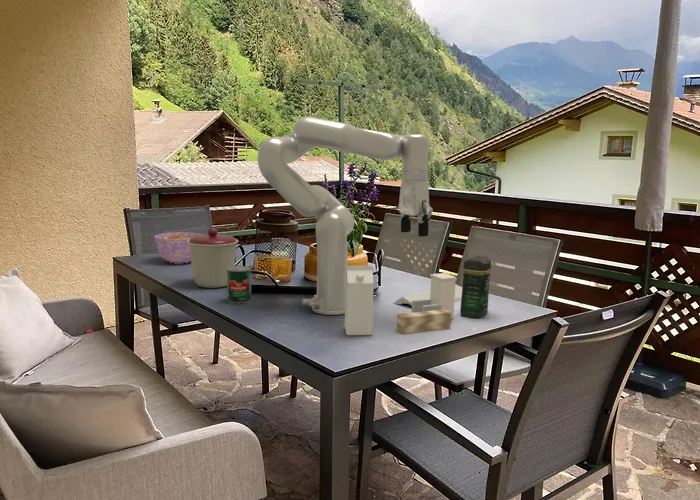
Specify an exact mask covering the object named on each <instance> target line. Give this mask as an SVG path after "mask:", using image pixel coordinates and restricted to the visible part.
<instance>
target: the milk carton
mask: <svg viewBox="0 0 700 500" xmlns="http://www.w3.org/2000/svg"><path fill="white" fill-rule="evenodd" d="M373 267H374V266H373V265H347V272H346V289H345V314H344V330H345V333H346V334H345V335H346V336H372V335H373V318H374V317H373V313H374V310H373V309H374V285H375V284H374V274H373V273H374V272H373Z"/></svg>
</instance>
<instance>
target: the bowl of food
mask: <svg viewBox="0 0 700 500" xmlns="http://www.w3.org/2000/svg"><path fill="white" fill-rule="evenodd" d="M198 235H203V234H201V233H199V232H187V231H186V232H183V231H181V232H180V231H179V232H178V231H177V232H165V233H159V234H157V235H154V239H155V243H156V247H157V250H158V252H159V253H158V254H159V255H160V257H161V258H162V259H163V260H165V261H166V262H169V263H170V264H172V263H174V265H184V264H183V263H186V264H189V263H191V256H190V249H189V244H188V243H187V241H188V240H190V239H191V238H192V237H194V236H198ZM188 262H189V263H188Z"/></svg>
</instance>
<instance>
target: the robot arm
mask: <svg viewBox="0 0 700 500" xmlns="http://www.w3.org/2000/svg"><path fill="white" fill-rule="evenodd" d="M315 148H323V149H325V150H327V149H328V150H331V151H337V152H341V153H346V154H353V155H358V156H363V157H368V158H371V159H372V158H373V159H377V160H382V161H391V160H397V159H398V160H399V159H402V170H401V171H402V177H401V178H402V181H401V183H400V190H399V200H398V201H399V203H398V204H397V208H398V213H399V215H400V216H399V219H400V232H401V233H410V232H411V227H412V223H411V218H410V217H411V216H412V217H416V216H417V218H418V221H419V222H418V229H417V230H418V232H417V236H418V238H419V237H429V227H430V226H429V224H430V222H431V219H432V214H433V211H434V209H433V208H432V207H431V205H430V193H429V192H430V190H429V182H428V181H429V137H428V136H427V135H426V134H423V133H422V134H419V133H418V134H417V133H416V134H415V133H414V134H406V135H405V134H404V135H403V134H402V135H401V134H400V135H399V134H394V133H387V132H379V131H375V130H369V129H365V128H361V127H356V126H354V125H352V124H349V123H346V122H341V121H335V120H329V119H325V118H320V117H314V116H309V115H308V116H302V117H300V118H298V119H297V120H296V122H295V124H294V126H293V130H292V131H291V132H289V133H287V134H286V135H284V136H272V137H269V138H267V139H264V140H263V141H262V143H261V144H260V146H259V148H258V152H257V166H258V168H259V172H260V173H261V175H262V177H263V178H264V180H266V182H267V183H268V184H269V185H270V186H271V187H272V188H273V189H274V190H275V191H277V193H278V194H279V195H280V196H281V197H282V198H283V199H284V200H285V201H286V202H287V203H288V204H289V205H291V207H292V208H294V210H295V211H297V213H298V214H299V215H301V216H303V217H306V218H309V217H311V218H312V217H314V219H316V220H317V221H316V225H315V240H316V252H317V253H316V263H317V266H316V294H314V295H313V297H311V298H303V299H301V304H302V306H308V307H311V310H312V312H314V313H316V314H320V315H326V316H328V315H329V316H331V315H332V316H334V315H335V316H336V315H337V316H338V315H339V316H340V315H345V289H346V272H347V266H348V262H349V261H348V256H349V255H348V250H349V249H348V241H347V240H348V239H347V237H348V236H349V235H350V233H351V232H352V231H353V229H354V227H355V219H354V216H353V214H352V212H351V211H350V210H349V209H348V208H347V207H346V206H345V205H344V204H343V203H342V202H341V201H339V200H338V199H337V198H336V197H335V196H334V195H333V194H332V193H331V192H330V191H329V190H328V189H326V188H325V187H323V186H321V185H317V184H313V185H311V184H310V183H309V182H307V181H306V180H305V179H304V178H303V177H302V176H301V175H300V174H299V173H298V172H297V171H295V170H294V169H293V168H291V167H290V166H289V164H291V163H294V162H295V161H297V160H298V159H300V158H302V157H303V156H304V155H306V154H308V153H309V152H311V151H312V150H314V149H315Z"/></svg>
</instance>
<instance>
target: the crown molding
mask: <svg viewBox="0 0 700 500" xmlns="http://www.w3.org/2000/svg"><path fill="white" fill-rule="evenodd" d="M430 291H431V289H429V290H426V291H421V292H418V293H412V294H408V295H405V296H401V297H400V298H399V299H396V300H395V301H394V302H393V303H392V304H394V305H406V304H408V305H410V306H411V307H412V300H422V299H430ZM461 297H462V287H461V286H460V285H459V284H457V283H455V300H454V303H457V302H461Z"/></svg>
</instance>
